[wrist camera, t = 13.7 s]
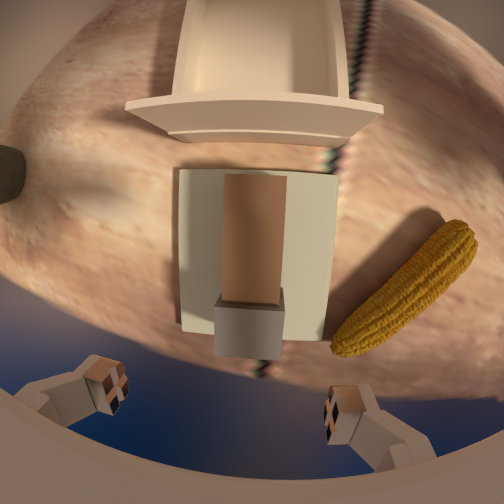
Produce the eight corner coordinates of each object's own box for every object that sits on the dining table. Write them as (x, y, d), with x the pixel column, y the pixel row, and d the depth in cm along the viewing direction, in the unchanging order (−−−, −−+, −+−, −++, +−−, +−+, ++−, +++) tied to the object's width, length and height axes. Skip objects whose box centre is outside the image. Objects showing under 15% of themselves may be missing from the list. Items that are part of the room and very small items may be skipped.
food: (442, 209, 27) (471, 214, 21) (461, 243, 27) (490, 253, 21) (317, 330, 31) (325, 358, 25) (344, 357, 31) (355, 385, 25)
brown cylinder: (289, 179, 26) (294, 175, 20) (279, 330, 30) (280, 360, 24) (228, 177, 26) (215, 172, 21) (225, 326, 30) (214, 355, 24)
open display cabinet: (328, -4, 21) (346, -69, 9) (336, 148, 26) (383, 117, 13) (203, -6, 23) (175, -68, 10) (184, 143, 27) (124, 112, 15)
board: (336, 176, 27) (338, 175, 26) (319, 335, 31) (321, 340, 29) (183, 170, 28) (179, 169, 27) (185, 326, 32) (182, 330, 30)
